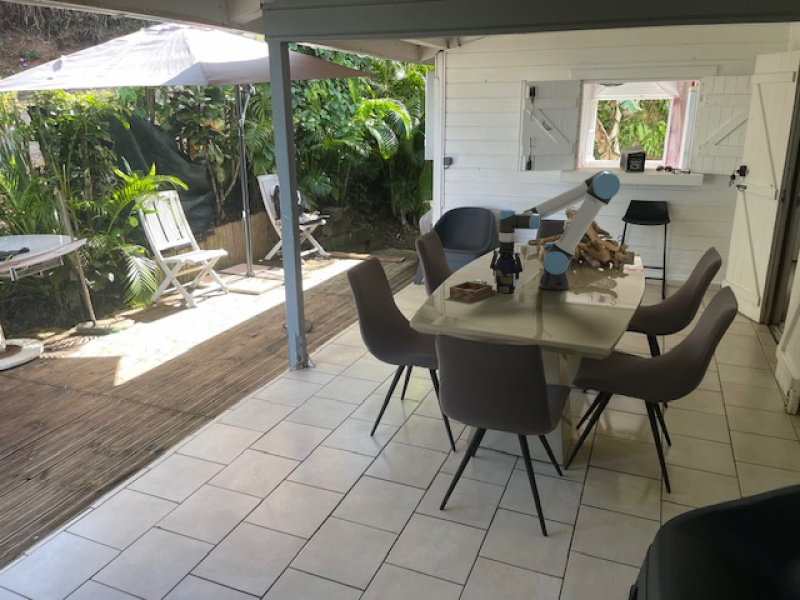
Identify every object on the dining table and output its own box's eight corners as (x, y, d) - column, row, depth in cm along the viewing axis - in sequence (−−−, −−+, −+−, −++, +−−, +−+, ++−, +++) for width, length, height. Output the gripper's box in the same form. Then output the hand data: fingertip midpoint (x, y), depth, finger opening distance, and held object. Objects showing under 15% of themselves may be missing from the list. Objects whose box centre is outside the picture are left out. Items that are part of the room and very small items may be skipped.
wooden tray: (495, 294, 305) (495, 284, 303) (474, 301, 292) (475, 291, 290) (470, 289, 314) (470, 280, 313) (449, 297, 301) (449, 287, 300)
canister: (514, 294, 303) (515, 258, 298) (495, 293, 305) (496, 258, 300) (515, 289, 312) (516, 254, 307) (496, 289, 314) (497, 254, 309)
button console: (486, 288, 316) (487, 281, 315) (479, 290, 311) (479, 284, 310) (475, 286, 321) (475, 279, 320) (468, 288, 316) (468, 282, 315)
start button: (482, 286, 316) (482, 280, 315) (478, 288, 313) (478, 281, 312) (476, 285, 318) (476, 279, 317) (472, 287, 316) (472, 280, 315)
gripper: (531, 241, 297) (529, 285, 303) (491, 237, 312) (490, 279, 318) (523, 244, 292) (521, 289, 298) (483, 239, 306) (482, 282, 312)
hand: (505, 284), depth 308 cm, fingers open, 10 cm apart
